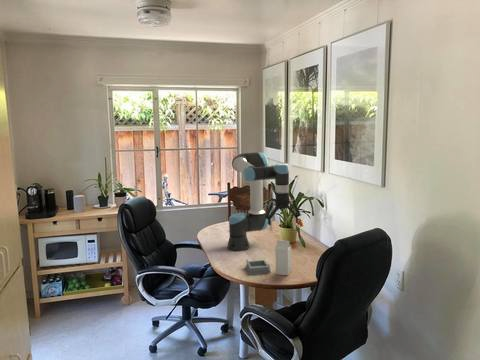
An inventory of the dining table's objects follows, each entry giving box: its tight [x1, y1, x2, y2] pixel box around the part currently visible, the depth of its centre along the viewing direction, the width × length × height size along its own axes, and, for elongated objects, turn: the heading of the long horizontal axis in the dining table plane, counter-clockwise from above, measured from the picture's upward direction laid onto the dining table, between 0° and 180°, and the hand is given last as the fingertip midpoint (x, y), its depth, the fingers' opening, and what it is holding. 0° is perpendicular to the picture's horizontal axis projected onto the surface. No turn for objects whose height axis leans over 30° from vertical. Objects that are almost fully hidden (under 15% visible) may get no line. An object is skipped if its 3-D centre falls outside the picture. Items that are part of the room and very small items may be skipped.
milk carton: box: [274, 239, 292, 276], centre depth 216 cm, size 7×7×19 cm
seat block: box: [245, 258, 272, 276], centre depth 223 cm, size 12×12×5 cm
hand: (282, 229), depth 214 cm, fingers open, 13 cm apart
